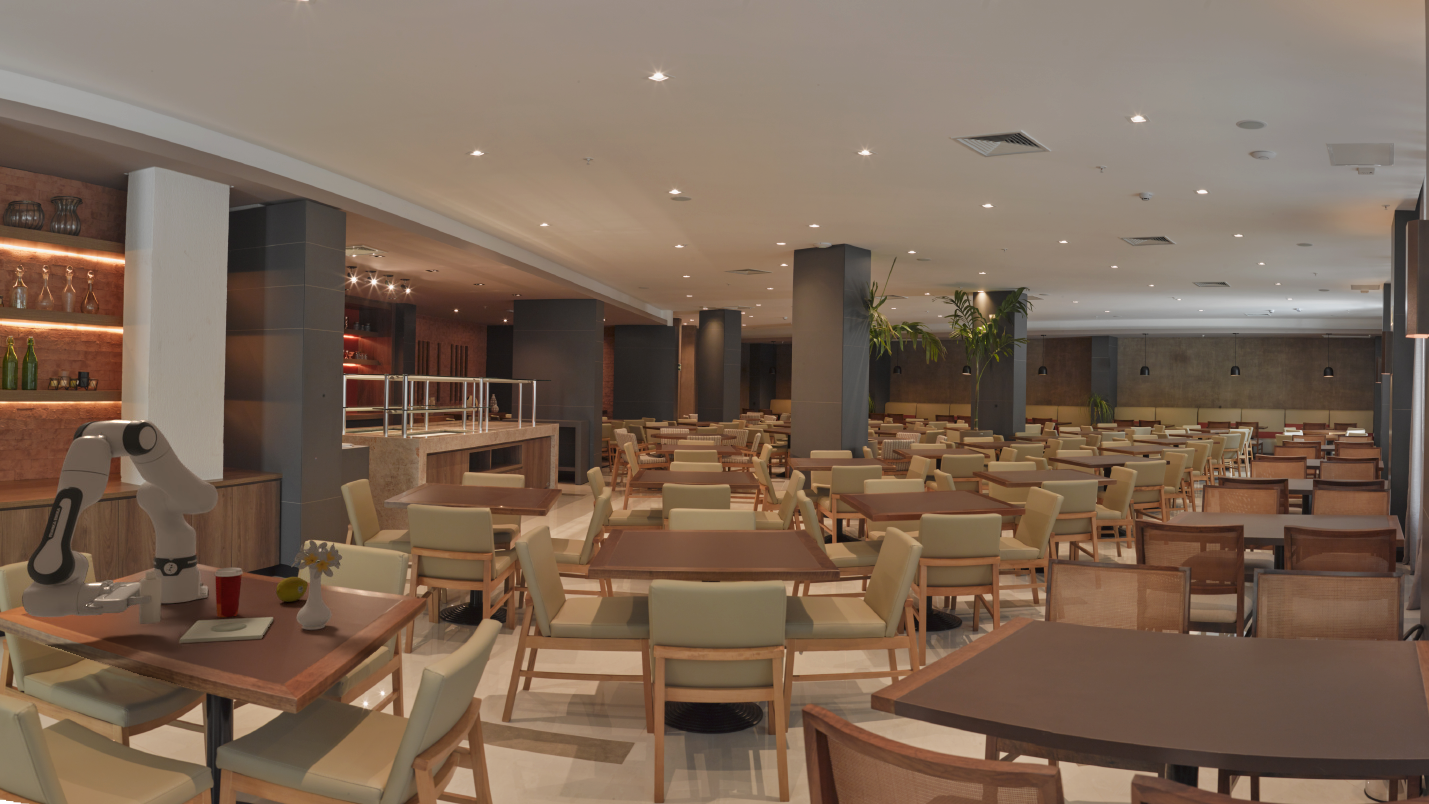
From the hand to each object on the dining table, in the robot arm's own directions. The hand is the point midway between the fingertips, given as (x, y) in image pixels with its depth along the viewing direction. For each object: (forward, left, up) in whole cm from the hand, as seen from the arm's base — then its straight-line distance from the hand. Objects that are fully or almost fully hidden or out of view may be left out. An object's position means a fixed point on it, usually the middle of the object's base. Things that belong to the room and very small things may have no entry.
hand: (154, 596), depth 239 cm
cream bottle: (0, -1, -7) cm, 7 cm away
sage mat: (0, +19, -11) cm, 22 cm away
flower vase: (+1, +42, -11) cm, 43 cm away
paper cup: (-19, +15, -11) cm, 26 cm away
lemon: (-34, +31, -11) cm, 47 cm away
